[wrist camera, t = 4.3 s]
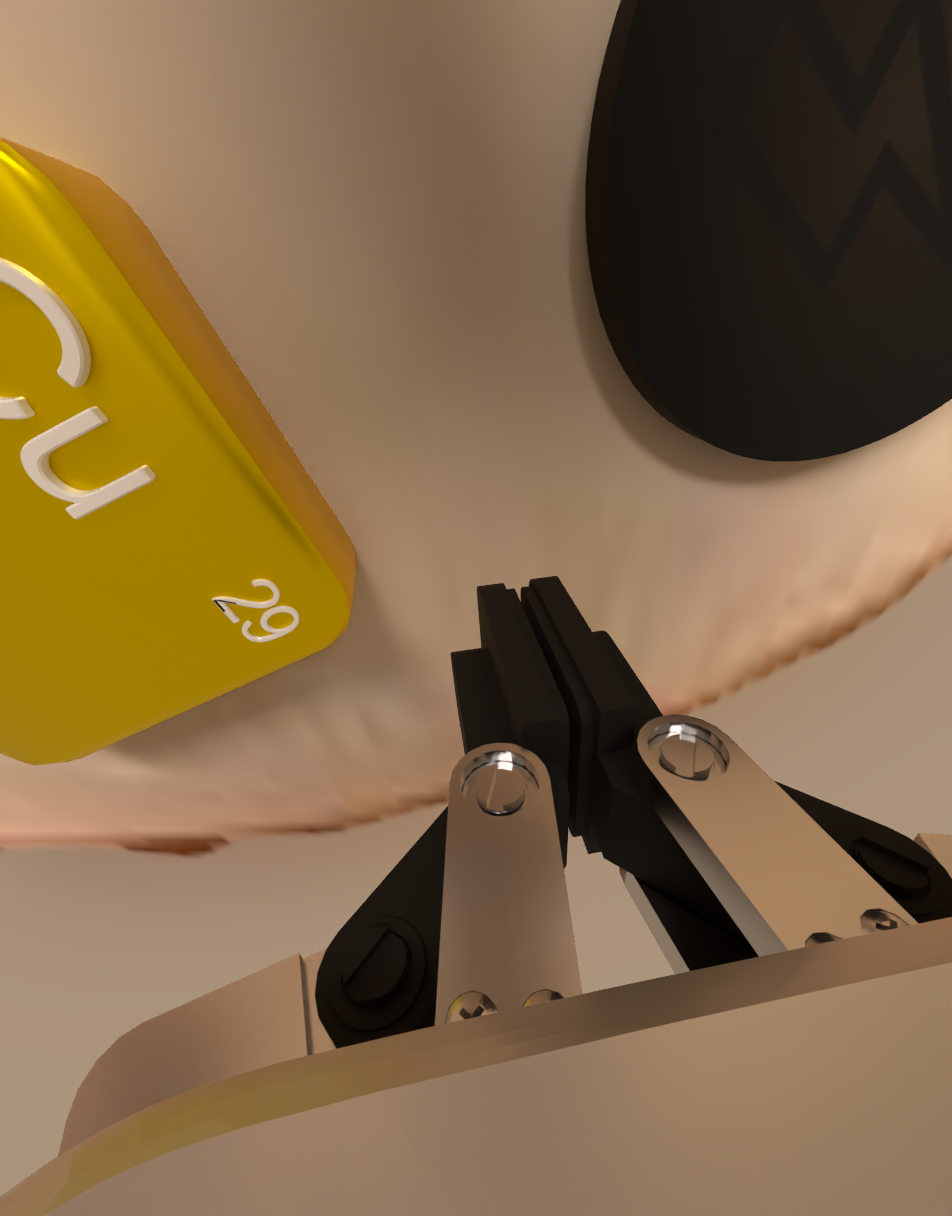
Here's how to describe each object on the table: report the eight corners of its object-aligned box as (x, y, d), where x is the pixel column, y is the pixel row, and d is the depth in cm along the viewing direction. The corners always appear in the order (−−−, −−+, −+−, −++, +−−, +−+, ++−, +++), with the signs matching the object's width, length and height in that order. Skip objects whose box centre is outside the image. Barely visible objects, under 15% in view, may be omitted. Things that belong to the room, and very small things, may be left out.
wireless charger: (922, 455, 22) (966, 468, 20) (541, 438, 19) (556, 452, 17) (1326, -257, 12) (1472, -342, 11) (681, -518, 9) (744, -692, 8)
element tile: (-330, 386, 14) (-608, 423, 10) (90, 131, 13) (-46, 58, 9) (90, 705, 23) (26, 793, 19) (376, 573, 21) (373, 639, 17)
